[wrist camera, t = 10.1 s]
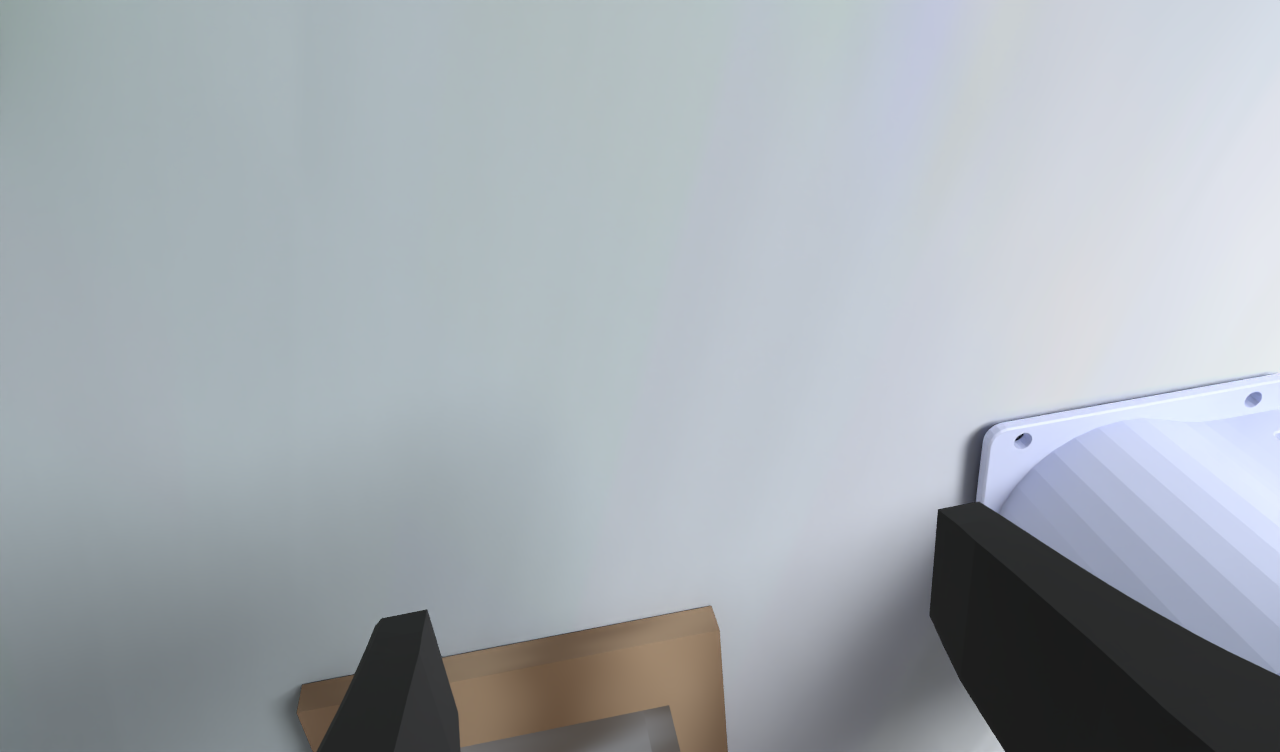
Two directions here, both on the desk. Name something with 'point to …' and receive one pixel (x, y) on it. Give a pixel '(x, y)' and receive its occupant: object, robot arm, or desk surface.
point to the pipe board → (579, 691)
